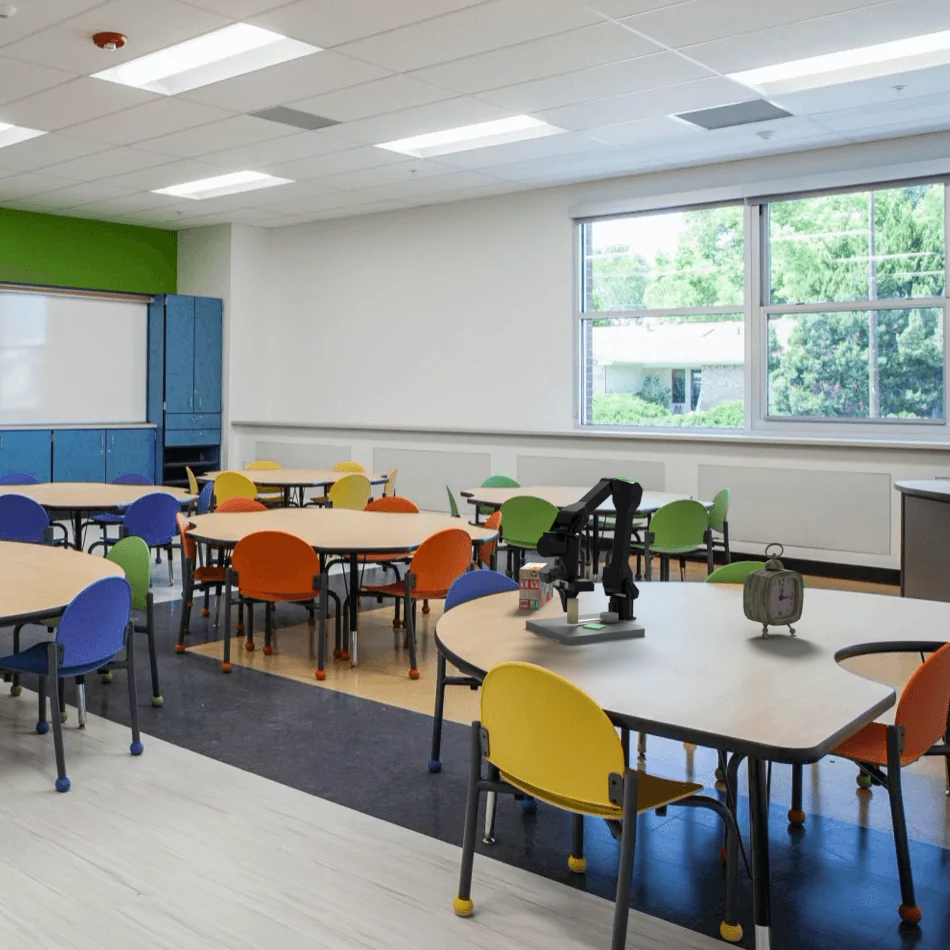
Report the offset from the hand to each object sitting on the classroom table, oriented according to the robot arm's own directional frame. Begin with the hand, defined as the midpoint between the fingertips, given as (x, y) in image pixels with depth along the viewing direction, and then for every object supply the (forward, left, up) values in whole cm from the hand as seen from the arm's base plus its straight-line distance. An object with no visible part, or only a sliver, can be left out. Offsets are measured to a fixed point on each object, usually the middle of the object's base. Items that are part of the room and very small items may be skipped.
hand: (565, 612), depth 278 cm
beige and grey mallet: (-6, +4, -3) cm, 8 cm away
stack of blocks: (-13, -38, -5) cm, 40 cm away
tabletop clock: (-48, +28, -5) cm, 55 cm away
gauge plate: (-4, +4, -5) cm, 7 cm away
